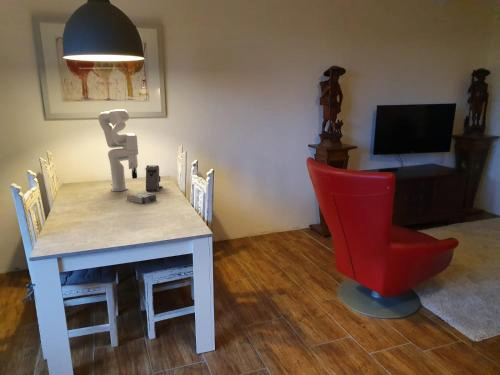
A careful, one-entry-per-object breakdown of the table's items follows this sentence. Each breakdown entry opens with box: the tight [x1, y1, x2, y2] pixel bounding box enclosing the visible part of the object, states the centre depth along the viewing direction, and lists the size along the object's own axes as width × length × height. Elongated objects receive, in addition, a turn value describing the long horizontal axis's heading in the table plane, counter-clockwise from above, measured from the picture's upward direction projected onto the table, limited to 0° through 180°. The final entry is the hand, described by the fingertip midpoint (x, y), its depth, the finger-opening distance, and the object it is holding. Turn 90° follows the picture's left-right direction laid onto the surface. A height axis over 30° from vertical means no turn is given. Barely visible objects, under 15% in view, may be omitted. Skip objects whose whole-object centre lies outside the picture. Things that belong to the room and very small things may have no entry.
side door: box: [126, 193, 145, 205], centre depth 257 cm, size 18×1×5 cm, turn 54°
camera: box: [145, 164, 163, 193], centre depth 290 cm, size 11×17×20 cm, turn 174°
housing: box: [133, 191, 157, 205], centre depth 259 cm, size 13×10×5 cm
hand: (134, 178), depth 263 cm, fingers closed
